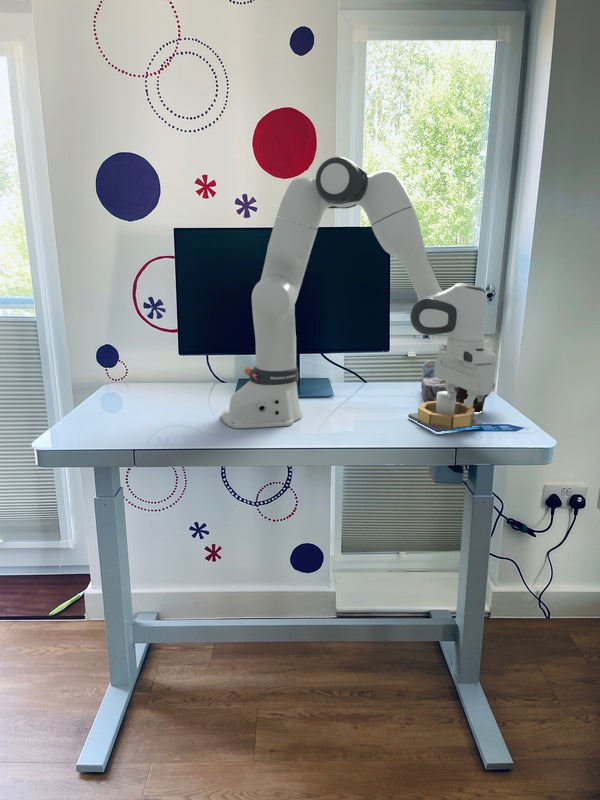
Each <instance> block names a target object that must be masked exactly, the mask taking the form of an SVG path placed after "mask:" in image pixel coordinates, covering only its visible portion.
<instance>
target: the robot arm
mask: <svg viewBox="0 0 600 800" xmlns="http://www.w3.org/2000/svg"><path fill="white" fill-rule="evenodd" d="M404 186H405V185H403V182H402V180H401V179H400V178H399V177H398V175H397V174H396V173H395V172H393V171H391V170H380V171H376V172H375V173H373V174H368V173H367V171H366V170H364V169H363V168H361V167H360V166H359V165H358V164H357V163H356V162H354V161H352V159H349V158H346V157H342V156H334V157H333V156H332V157H330V158H328V159H326V160H324V161H323V162H322V164H320V166H319V167H318V169H317V171H316V174H315V179H311V178H308V177H297V178H294V179H293V180H291V182H290V183H289V185H288V186H287V189H286V190H285V193H284V195H283V197H282V199H281V201H280V204H279V207H278V210H277V213H276V217H275V219H274V224H273V228H272V231H271V235H270V238H269V241H268V245H267V251H266V254H265V259H264V264H263V269H262V273H261V277H260V280H259V281H258V282H257V283H256V284H255V286H254V288H253V290H252V293H251V307H252V309H251V310H252V311H251V312H252V320H253V329H254V338H255V361H256V362H255V366H254V367H253V368H250V367H248V366H247V367H245V368H244V370H243V371H244V374H245V375H247V377H249V381H247V383H245V384H244V385H243V386H242V387H240V388H239V389H238V390H237V391H235V392H234V393H233V394H232V395H231V397H230V401H229V407H228V409H227V410H224V411H223V412H222V413H221V421H223V423H224V424H225V425H227V426H228V427H231V428H233V429H250V428H252V429H253V428H254V429H255V428H268V427H269V428H271V427H272V428H273V427H288V426H292V425H293V423H294V422H296V421H297V420H299V419H301V418H302V417H303V413H302V410H301V407H300V399H299V395H298V394H299V393H298V385H299V371H298V370H299V368H298V366H297V334H296V315H295V314H296V313H295V312H296V311H295V310H296V307H295V306H296V305H295V304H296V302H297V299H298V297H299V293H300V289H301V287H302V284H303V279H304V277H305V272H306V271H307V267H308V266H307V265H308V263H309V260H310V255H311V254H312V252H311V251H312V248H313V245H314V242H315V240H316V236H317V232H318V229H319V226H320V223H321V220H322V218H323V215H324V212H325V211H326V210H328V209H350V208H354V207H356V206H360V207H361V208H362V210H363V211H364V212H365V214H366V216H367V218H368V221H369V223H370V226H371V228H372V231H373V234H374V236H375V237H376V239H377V241H378V243H379V244H380V246H381V248H382V249H383V250H384V251H385V252H386V253H388V254H389V255H391V256H392V257H393V258H394V259H396V260H397V261H398V262H399V263H401V264H402V266H403V268H404V269H405V271H406V273H407V275H408V277H409V280H410V282H411V284H412V286H413V288H414V291H415V293H416V296H417V302H416V303H415V304H414V305H413V307H412V309H411V310H410V317H409V319H410V323H411V325H412V327H413V328H414V330H416V332H418V333H419V334H422V335H425V336H436V335H443V334H447V340H446V343H443V344H441V346H440V347H439V351H438V353H437V355H436V359H435V361H436V363H435V369H434V374H435V377H437V378H439V379H442V380H444V381H445V386H446V389H447V398H448V399H450V400H455V399H456V393H455V391H454V385H456V386H458V387H461V388H463V389H465V390H467V394H468V397H467V399H465V400H464V406H465V407H468V408H471V407H473V401H474V400H475V398H476V397H477V395H488V394H489V395H491V393H492V392H493V391H494V389H493V386H494V384H495V375H496V370H495V368H496V367H495V366H494V363H496V362H497V359H498V357H497V353H495V352H494V351H493V350H491V349H490V348H489V347H488V346H487V344H485V334H484V333H485V332H484V330H485V329H484V328H485V325H486V323H487V319H488V317H487V315H488V296H487V293H486V291H485V290H484V288H482V287H481V286H478V285H475V284H471V283H467V282H465V283H464V282H458V283H457V282H456V283H455V284H454V285H453V286H451V287H449V288H447V289H443V287H442V286H441V284H440V282H439V281H438V278H437V276H436V274H435V272H434V268H433V266H432V265H431V264H432V263H431V261H430V260H429V259H430V258H429V257H428V254H427V252H426V247H425V243H424V240H423V235H422V230H421V226H420V222H419V217H418V215H417V212H416V209H415V207H414V204H413V202H412V200H411V197H410V195H409V194H408V192H407V190H406V187H404ZM494 387H495V386H494ZM492 390H493V391H492ZM489 395H488V396H489Z"/></svg>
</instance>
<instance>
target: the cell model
mask: <svg viewBox="0 0 600 800" xmlns="http://www.w3.org/2000/svg"><path fill="white" fill-rule="evenodd" d="M435 363H436V360H427V361H425V362H424V363H423V365H422V370H421V380H420V381H421V385H420V386H421V396H422V398H423V399H424V402H425V401H426V402H430V401H436V399H437V392H440V391H447V389H446V386H445V381H444V380H442V379H439V378H437V377H435V374H434V369H435ZM454 391H455V393H456V402H459V393H458V386H456V385H454Z"/></svg>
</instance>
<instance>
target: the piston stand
mask: <svg viewBox="0 0 600 800" xmlns="http://www.w3.org/2000/svg"><path fill="white" fill-rule="evenodd" d="M455 403H456V399H455V400H450V399H448V398H447V391H440V392H437V399H436V413H438V414H446V415H457V414H455ZM407 417H409V418H411V419H413V420H415V421H417V422H418V423H420V424H422V425H424V426H426V427H428V428H430V429H432V430H434V431H436V432H441V431H447V430H455V429H461V428H466V427H472V426H481V425H482V426H483V425H484V424H483V423H482V422H481V421H479V420H476V419H474V420H473V422H472V424H471V425H470V426H464V427H457V428H452V427H451V428H446V427H439V426H431V425H428V424H426V423H424V422H423V421H421V420H419V419H418V412H414V413H408V416H407Z"/></svg>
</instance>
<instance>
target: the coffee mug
mask: <svg viewBox="0 0 600 800" xmlns="http://www.w3.org/2000/svg"><path fill="white" fill-rule="evenodd" d="M495 386H496V385H495V383H494V386H493V390H492V392H493V391H494V389H495ZM458 393H459V402H460V403H464V400H465V399H467V397H468V394H467V390H465V389H463V388H461V387H458ZM489 395H490V394H488V395H477V397H476V398H475V400H474V401H473V408H474V409H475V411H474V412H480V411H482V412H483V411H484V410H483V409H484V405H485V400H486V398H487V397H488V396H489Z"/></svg>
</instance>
